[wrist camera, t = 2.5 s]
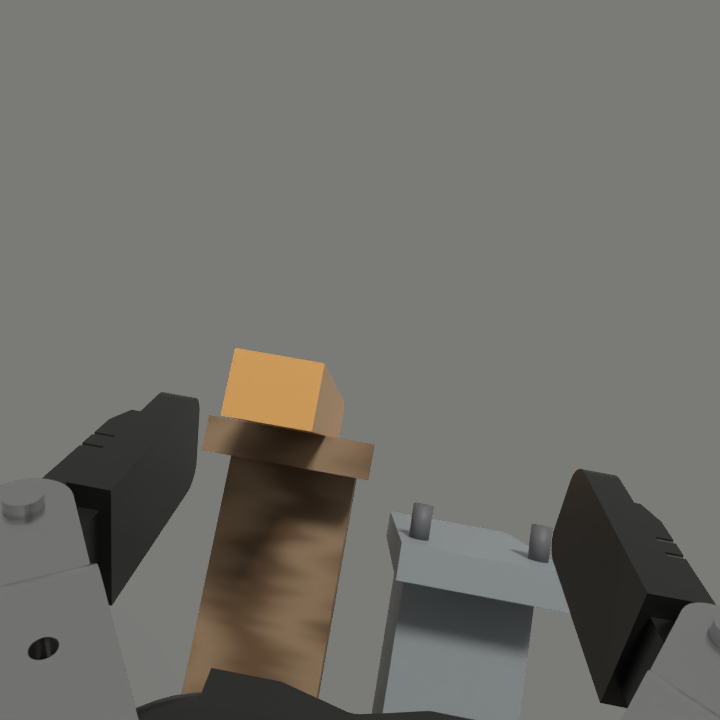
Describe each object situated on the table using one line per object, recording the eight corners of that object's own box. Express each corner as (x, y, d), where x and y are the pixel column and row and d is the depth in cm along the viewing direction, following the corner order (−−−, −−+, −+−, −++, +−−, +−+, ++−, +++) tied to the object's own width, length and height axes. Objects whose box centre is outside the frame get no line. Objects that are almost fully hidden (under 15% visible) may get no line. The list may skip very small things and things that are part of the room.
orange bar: (338, 440, 46) (345, 403, 46) (311, 431, 24) (324, 363, 25) (290, 431, 46) (297, 395, 47) (220, 415, 24) (235, 347, 25)
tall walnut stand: (300, 866, 43) (372, 446, 48) (260, 1108, 27) (374, 444, 32) (177, 840, 43) (261, 426, 48) (68, 1063, 28) (209, 415, 32)
